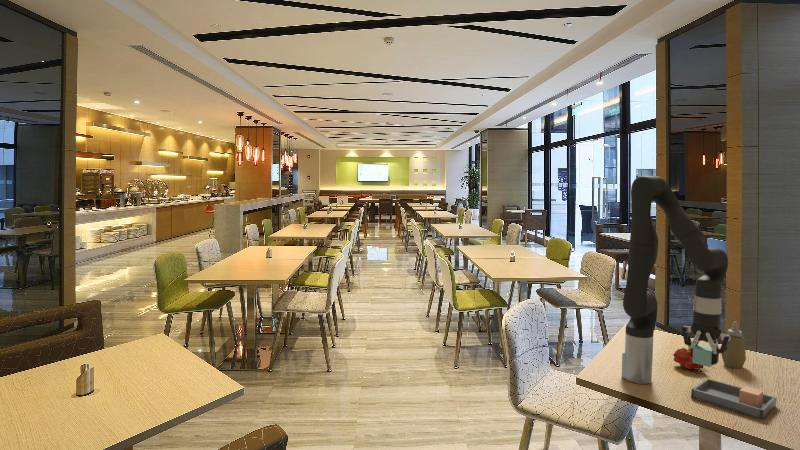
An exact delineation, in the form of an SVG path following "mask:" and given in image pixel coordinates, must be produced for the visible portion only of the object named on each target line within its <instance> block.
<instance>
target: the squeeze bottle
mask: <svg viewBox="0 0 800 450" xmlns="http://www.w3.org/2000/svg"><path fill="white" fill-rule="evenodd" d="M739 329H740V328H739V324H738V321H735V320H734V321H733V323H732V325H731V328H729V329H728V330H727V334H726V335H731V340H730V343H729V345H728V348H727V351H726V352H724V353H723V354H721V353H720V354H721V358H722V362H723V364H724V366H726V367H729V368H731V369H732V368H733V369H742V368H743V367H744V364H745V362H746V360H747V354H746V353H747V352H746V338H745V337H744V336H743V330H742V331H741V330H739Z"/></svg>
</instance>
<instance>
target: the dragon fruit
mask: <svg viewBox="0 0 800 450" xmlns="http://www.w3.org/2000/svg"><path fill="white" fill-rule="evenodd" d="M690 354H691V348H689V349H688V348H685V347H682V348H678V349H676V350H675V351H674V353H673V361H674V362H675V363H678V364H679V365H680V367H681V369H685V368H686V369H688V370H690V371H691V372H699V370H698V369H702V370H703V369H704V367H705V366H703V365H700V364H696V363H692V357H691V356H690Z"/></svg>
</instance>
